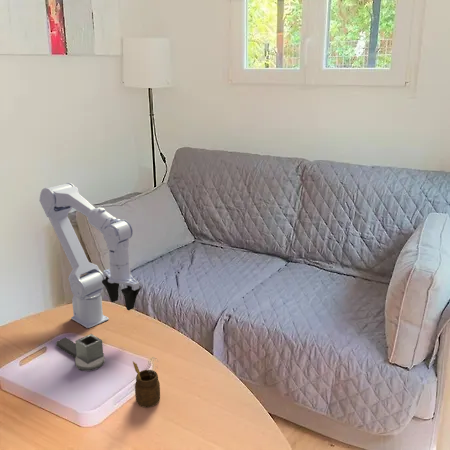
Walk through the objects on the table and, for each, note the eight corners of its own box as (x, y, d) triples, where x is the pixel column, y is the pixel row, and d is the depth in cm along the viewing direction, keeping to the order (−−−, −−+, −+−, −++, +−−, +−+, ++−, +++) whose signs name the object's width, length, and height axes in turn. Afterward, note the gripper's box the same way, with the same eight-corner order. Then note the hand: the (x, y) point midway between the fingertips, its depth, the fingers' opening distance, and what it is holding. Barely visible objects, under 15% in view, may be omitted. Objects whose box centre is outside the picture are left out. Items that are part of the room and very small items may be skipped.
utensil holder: (165, 400, 123) (164, 357, 120) (143, 412, 119) (141, 368, 116) (151, 389, 128) (149, 347, 124) (129, 400, 123) (127, 357, 120)
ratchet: (49, 348, 145) (47, 335, 144) (72, 338, 150) (71, 325, 149) (86, 374, 134) (85, 359, 132) (110, 362, 139) (109, 348, 138)
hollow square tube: (76, 357, 138) (75, 340, 136) (92, 349, 142) (91, 333, 140) (87, 364, 135) (86, 347, 133) (103, 356, 138) (102, 340, 137)
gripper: (93, 259, 148) (96, 301, 153) (124, 273, 139) (126, 317, 143) (113, 253, 153) (115, 294, 158) (144, 265, 144) (146, 309, 148)
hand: (122, 304), depth 151 cm, fingers open, 7 cm apart
